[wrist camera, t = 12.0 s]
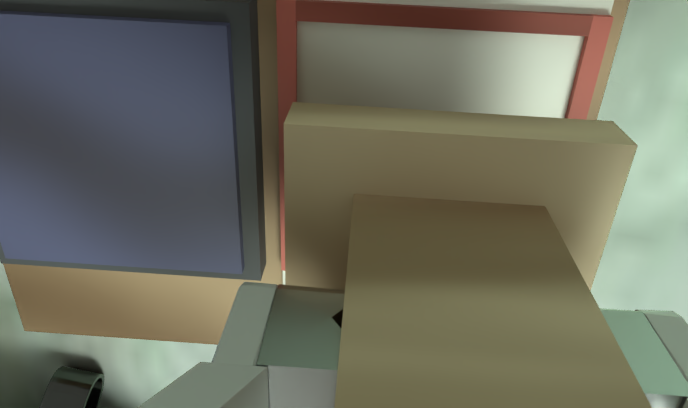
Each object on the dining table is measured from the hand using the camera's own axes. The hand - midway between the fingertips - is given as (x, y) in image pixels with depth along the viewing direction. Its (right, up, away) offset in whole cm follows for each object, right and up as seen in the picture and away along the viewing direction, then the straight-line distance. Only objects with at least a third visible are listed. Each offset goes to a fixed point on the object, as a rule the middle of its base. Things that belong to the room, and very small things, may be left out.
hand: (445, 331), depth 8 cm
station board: (-3, +4, +6) cm, 8 cm away
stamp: (0, +1, +3) cm, 3 cm away
